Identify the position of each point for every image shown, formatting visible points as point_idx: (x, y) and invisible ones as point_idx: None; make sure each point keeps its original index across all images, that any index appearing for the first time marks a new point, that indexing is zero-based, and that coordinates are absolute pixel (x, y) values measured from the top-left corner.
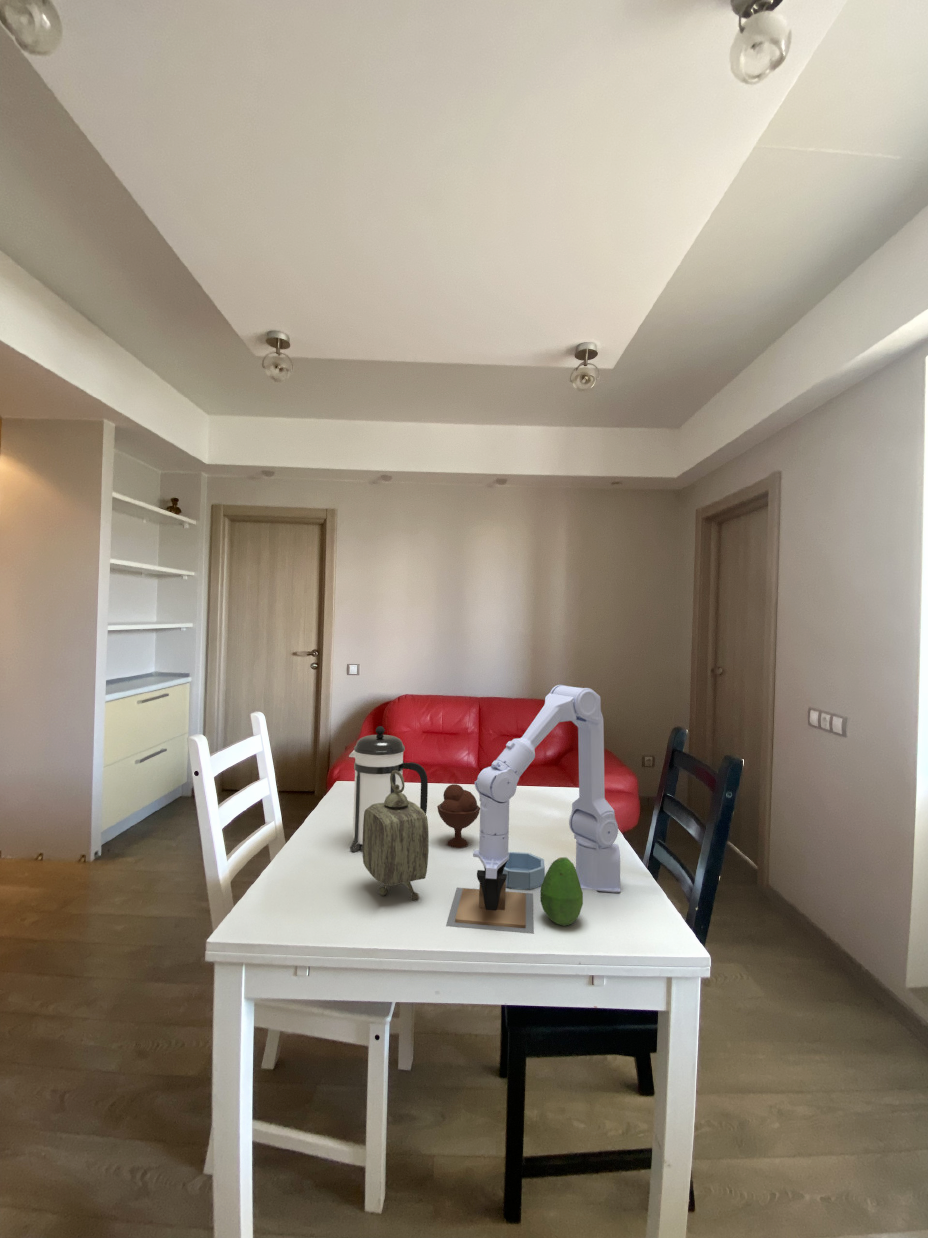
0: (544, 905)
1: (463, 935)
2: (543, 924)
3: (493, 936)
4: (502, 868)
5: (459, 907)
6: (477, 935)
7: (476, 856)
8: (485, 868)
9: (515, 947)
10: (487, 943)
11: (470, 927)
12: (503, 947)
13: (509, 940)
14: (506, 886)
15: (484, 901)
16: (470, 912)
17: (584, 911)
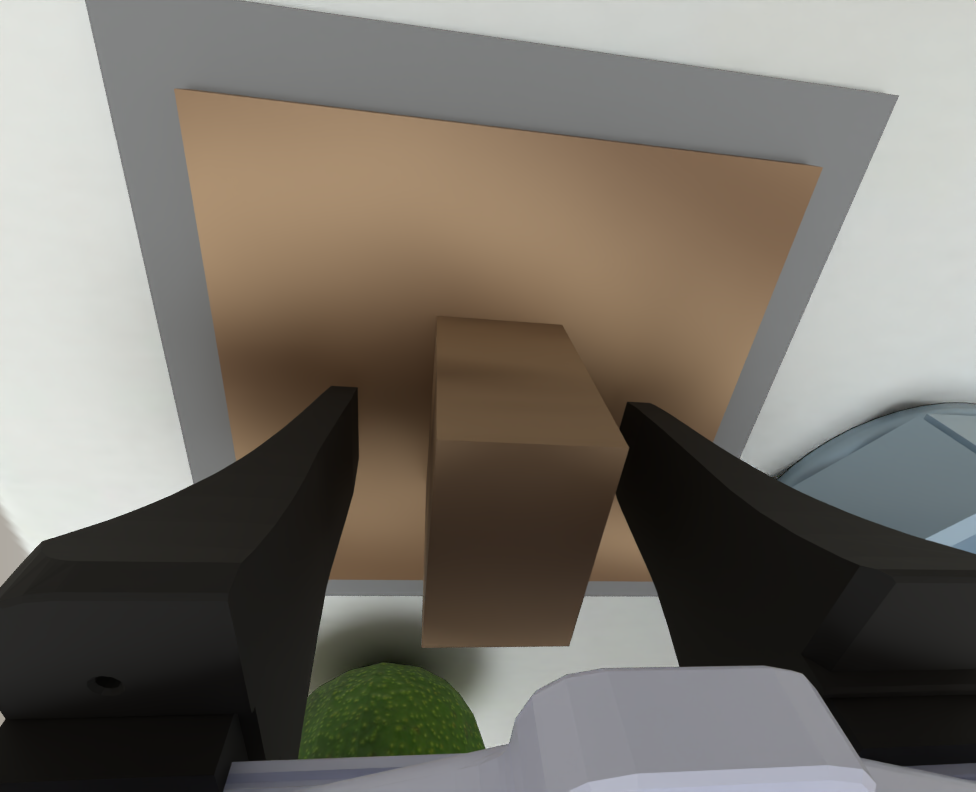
0: (308, 738)
1: (43, 177)
2: (360, 619)
3: (131, 397)
4: (687, 665)
5: (426, 134)
6: (96, 292)
7: (519, 760)
8: (748, 517)
9: (54, 509)
10: (15, 361)
11: (146, 242)
12: (18, 452)
13: (122, 482)
14: (795, 482)
15: (300, 413)
16: (348, 246)
17: (506, 734)
